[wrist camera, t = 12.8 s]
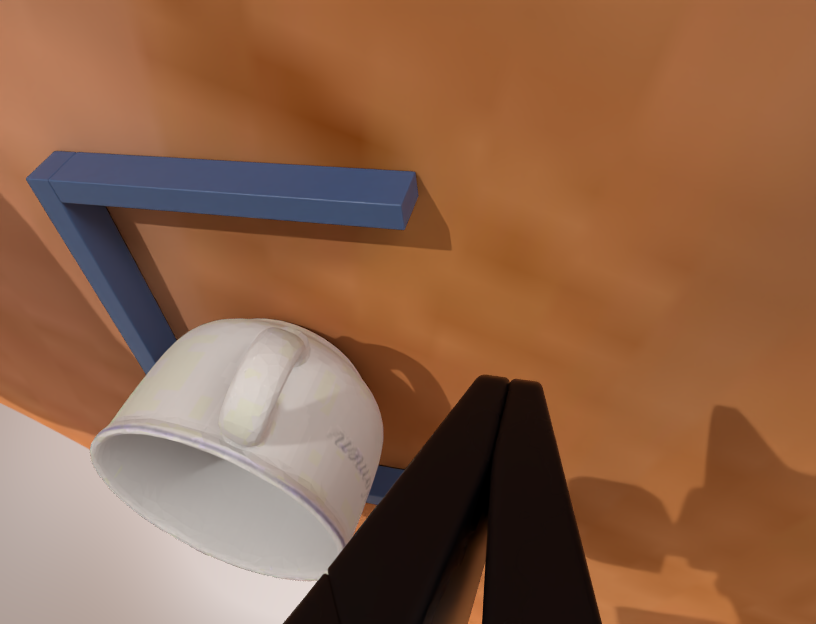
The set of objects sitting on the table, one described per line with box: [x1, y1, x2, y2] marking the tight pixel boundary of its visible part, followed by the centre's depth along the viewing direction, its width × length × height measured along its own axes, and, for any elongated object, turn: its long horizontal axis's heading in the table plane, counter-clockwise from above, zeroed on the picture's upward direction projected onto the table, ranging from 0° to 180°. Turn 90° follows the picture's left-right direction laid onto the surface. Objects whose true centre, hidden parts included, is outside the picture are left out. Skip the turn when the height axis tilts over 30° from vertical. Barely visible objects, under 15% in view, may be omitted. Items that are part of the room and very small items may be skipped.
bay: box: [26, 151, 418, 505], centre depth 30 cm, size 14×20×2 cm
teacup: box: [90, 318, 383, 581], centre depth 28 cm, size 14×11×8 cm
